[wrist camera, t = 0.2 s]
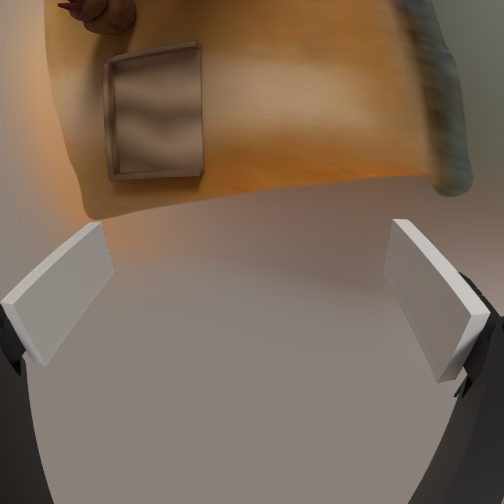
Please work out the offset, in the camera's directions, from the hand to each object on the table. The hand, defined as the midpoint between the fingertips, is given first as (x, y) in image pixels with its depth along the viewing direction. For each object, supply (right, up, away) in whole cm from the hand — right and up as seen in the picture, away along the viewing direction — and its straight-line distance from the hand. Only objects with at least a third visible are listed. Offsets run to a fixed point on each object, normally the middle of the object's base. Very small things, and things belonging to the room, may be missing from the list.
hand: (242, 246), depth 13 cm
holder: (-12, +18, +23) cm, 32 cm away
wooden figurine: (-18, +33, +17) cm, 41 cm away
